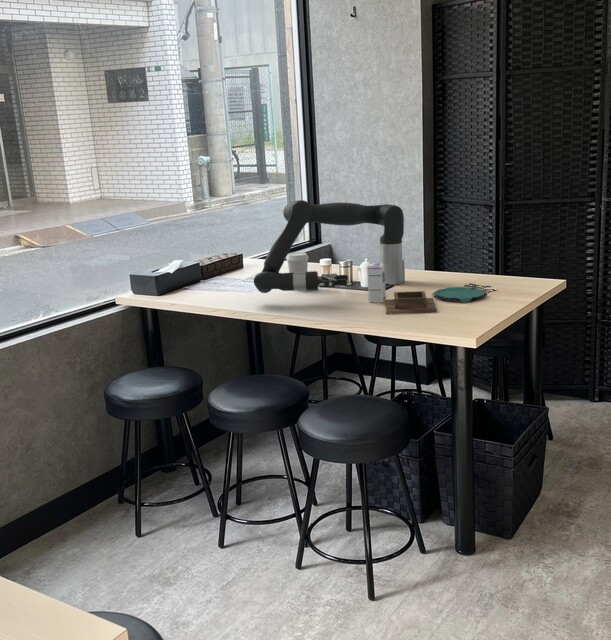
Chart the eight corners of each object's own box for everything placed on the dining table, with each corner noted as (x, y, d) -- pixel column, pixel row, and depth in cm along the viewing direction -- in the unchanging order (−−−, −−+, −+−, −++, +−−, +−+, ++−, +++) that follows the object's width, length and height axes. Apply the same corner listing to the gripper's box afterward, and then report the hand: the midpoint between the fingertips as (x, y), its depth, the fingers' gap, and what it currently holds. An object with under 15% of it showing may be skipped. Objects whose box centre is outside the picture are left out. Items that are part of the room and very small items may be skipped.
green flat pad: (423, 299, 299) (423, 293, 298) (466, 286, 319) (466, 280, 318) (467, 306, 285) (467, 300, 284) (509, 292, 305) (509, 286, 305)
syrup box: (383, 302, 296) (382, 265, 293) (368, 302, 298) (366, 265, 294) (386, 299, 302) (384, 262, 298) (371, 299, 303) (369, 262, 299)
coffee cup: (285, 291, 327) (283, 256, 323) (291, 286, 336) (289, 252, 332) (307, 291, 324) (305, 255, 321) (312, 286, 333) (310, 251, 330)
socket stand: (385, 302, 296) (385, 290, 295) (433, 300, 294) (432, 288, 293) (386, 314, 279) (386, 301, 278) (436, 312, 277) (436, 299, 276)
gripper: (303, 275, 292) (346, 273, 291) (306, 268, 306) (347, 266, 304) (304, 294, 294) (347, 293, 293) (307, 286, 308) (348, 285, 306)
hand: (347, 279), depth 298 cm, fingers open, 8 cm apart
